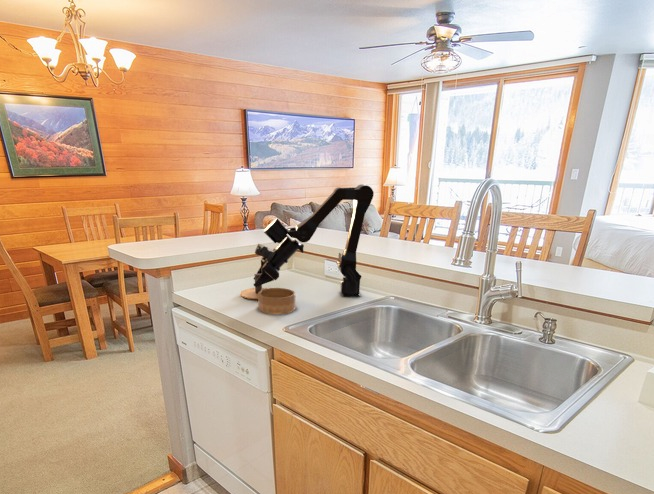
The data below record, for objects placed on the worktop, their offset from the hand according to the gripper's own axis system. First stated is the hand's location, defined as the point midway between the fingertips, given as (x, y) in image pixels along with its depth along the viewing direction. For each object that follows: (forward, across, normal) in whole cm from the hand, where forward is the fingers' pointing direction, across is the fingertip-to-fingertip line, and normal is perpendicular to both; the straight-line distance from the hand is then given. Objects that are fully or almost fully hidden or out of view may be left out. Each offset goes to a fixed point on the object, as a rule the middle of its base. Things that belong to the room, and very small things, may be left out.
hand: (254, 282), depth 161 cm
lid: (+2, 0, +4) cm, 5 cm away
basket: (-2, +16, +9) cm, 18 cm away
